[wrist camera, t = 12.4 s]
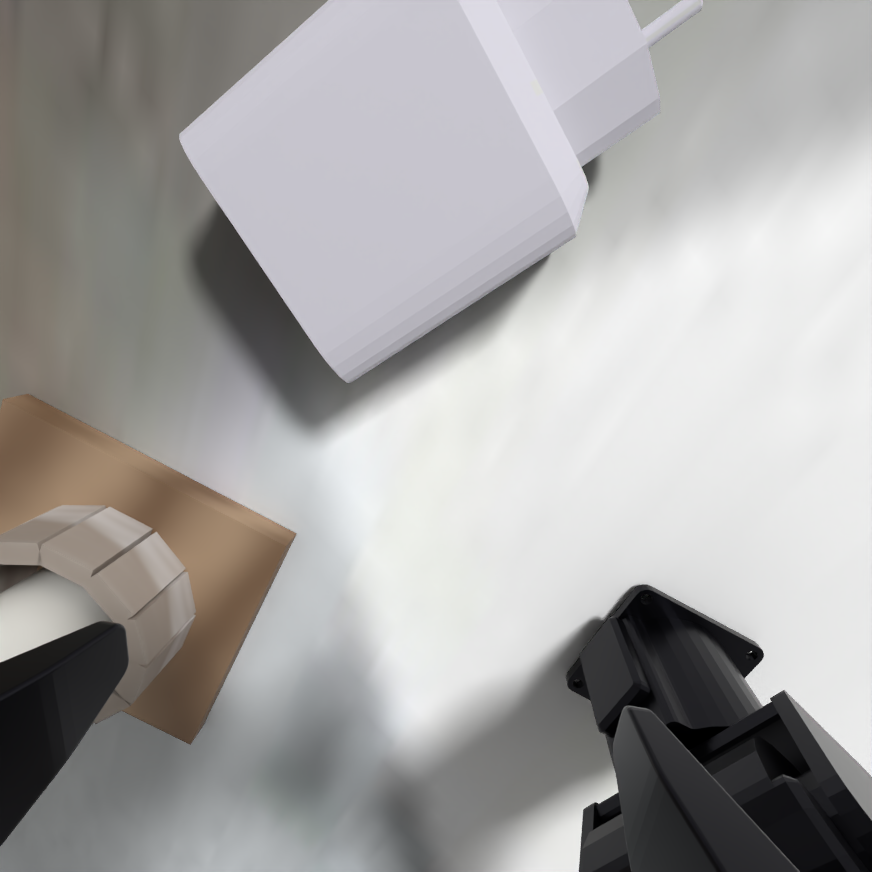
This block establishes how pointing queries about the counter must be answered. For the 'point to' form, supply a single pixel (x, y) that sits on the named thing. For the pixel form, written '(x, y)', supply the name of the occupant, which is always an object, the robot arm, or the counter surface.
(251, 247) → the charger
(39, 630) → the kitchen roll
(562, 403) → the counter surface
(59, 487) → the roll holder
